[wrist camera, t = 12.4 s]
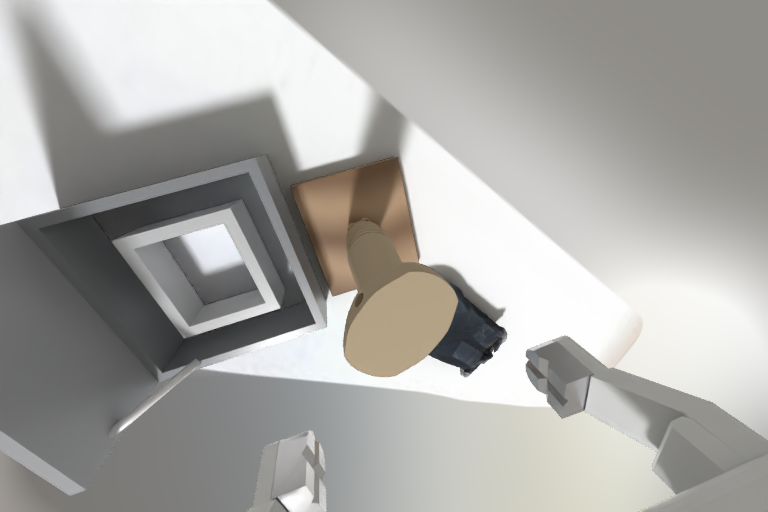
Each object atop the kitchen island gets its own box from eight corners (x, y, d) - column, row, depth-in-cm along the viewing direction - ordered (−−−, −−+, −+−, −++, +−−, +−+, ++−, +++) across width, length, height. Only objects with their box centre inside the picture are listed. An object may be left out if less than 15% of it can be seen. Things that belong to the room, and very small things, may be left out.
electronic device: (495, 309, 38) (428, 262, 31) (519, 341, 34) (448, 296, 26) (447, 347, 41) (375, 314, 33) (464, 381, 37) (385, 352, 29)
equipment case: (59, 209, 22) (-242, 291, 10) (266, 154, 23) (210, 171, 12) (172, 350, 29) (69, 495, 17) (326, 301, 30) (328, 405, 19)
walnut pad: (291, 185, 25) (289, 187, 24) (395, 156, 26) (397, 157, 25) (332, 291, 30) (332, 296, 29) (417, 265, 31) (420, 269, 30)
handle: (400, 218, 27) (475, 299, 14) (364, 268, 28) (400, 386, 15) (360, 191, 25) (401, 254, 12) (324, 246, 27) (324, 358, 13)
